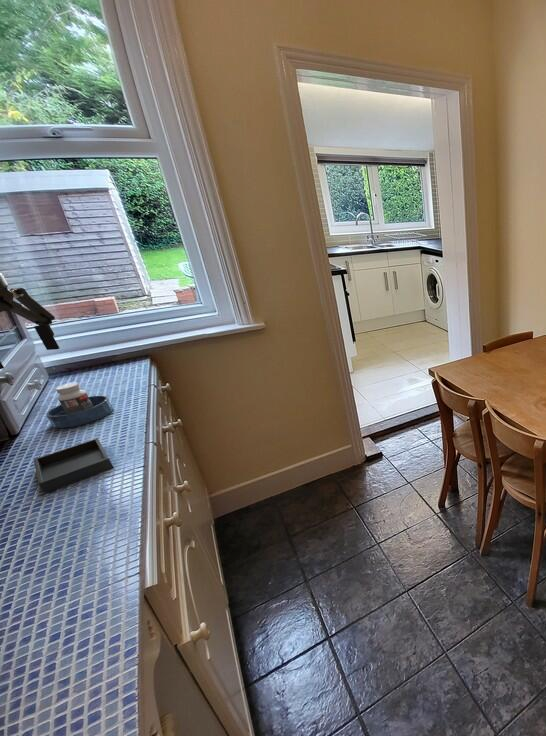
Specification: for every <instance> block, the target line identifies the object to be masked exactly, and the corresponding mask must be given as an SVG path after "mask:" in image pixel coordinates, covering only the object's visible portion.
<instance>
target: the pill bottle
mask: <svg viewBox="0 0 546 736" xmlns="http://www.w3.org/2000/svg"><path fill="white" fill-rule="evenodd" d="M55 391H56V392H57V394H58V397H57V400H58V401H59V404H60V405H62V407H63V409H64V410H65V412H66V414H72V413H76V412H80V411H83V410H86V409H89V408H92V407H94V406H93V405H92V403H91V401H90V399H89V397H90V396H89V395H88V394H87V392H86V391H85V390H84V389H81V385H80V384H79V382H75V381H74V382H69V383H65V384H61V385H59V386H57V387H55Z"/></svg>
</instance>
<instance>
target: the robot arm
mask: <svg viewBox="0 0 546 736" xmlns="http://www.w3.org/2000/svg"><path fill="white" fill-rule="evenodd" d="M8 287H9V283H8V282H7V280H6V278H5V276H4V274H3V272H0V314H1V313H2V312H12V313H14V314H16V315H17V316H20V317H22V318H24V319H25V320H27V321H30V322H31V323H33V324H35V325H34V326H33V328H34V330H35V331H36V334H37V335H38V337H39V339H40V340H41V342H42V344H43V345H44V347H45V350H46V351H53V350H60V348H61V347H60V346H59V344H58V342H57V340H56V339H55V337H54V336H55V333H54V331H53V329H52V328H51V325H52V324H53V321H55V320H56V317H55V316H54V315H53V314H52V313H51V312H49V311H48V310H47V309H46V307H43V306H42V305H41V304H40V303H39V302H37V300H35V299H34V298H33V297H31V296H30V295H29V293H28V292H27V289H25V288H24V287H14V288H13V287H12V288H10V289H9V288H8ZM14 299H15V300H17V301H15V300H14ZM2 369H5V366H4V364H3V363H2V362H1V361H0V370H2Z"/></svg>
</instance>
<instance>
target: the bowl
mask: <svg viewBox="0 0 546 736" xmlns="http://www.w3.org/2000/svg"><path fill="white" fill-rule="evenodd" d="M88 397H89V399H90V401H91V403H92V405H93V406H94V407H92V408H89V409H86V410H83V411H80V412H76V413H72V414H66V412H65V410H64V409H63V407H62V405H61V404H59V405H56V406H54V407H52V408H51V409H49V410H48V411H47V412H46V413H45V415H46V418H47V419H48V420H49V423H50V424H51V426H52V427H53V428H55V429H69V428H74V427H79V426H84V425H87V424H90V423H93V422H95V421H98V420H100V419H102V418H104V417H106V416H108V415H109V414H111V413H112V412H113V410H114V408H113V406H112V404H111V402H110V400H109V398H108V397H107V395H106V396H105V395H91V396H88Z"/></svg>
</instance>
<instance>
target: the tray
mask: <svg viewBox="0 0 546 736" xmlns="http://www.w3.org/2000/svg"><path fill="white" fill-rule="evenodd" d="M33 463H34V469H35V473H36V478H37V484H38V485H39V487H40V489H41V490H42V492H43V493H44V494H48V493H51V492H53V491H57V490H58V489H61V488H65V487H67V486H69V485H72V484H75V483H77V482H81V481H83V480H85V479H88V478H91V477H94V476H96V475H98V474H101V473H103V472H106V471H109V470H111V469H115V467H114V465H113V463H112V461H111V459H110V458H109V456H108V454H107V452H106V450H105V449H104V447H103V444H102V443H101V441H100V439H99V437H96V438H94V439H90V440H88V441H85V442H81V443H78V444H75V445H72V446H70V447H66V448H63V449H61V450H58V451H55V452H51V453H49V454H46V455H43V456H39V457H36V458H33Z"/></svg>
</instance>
